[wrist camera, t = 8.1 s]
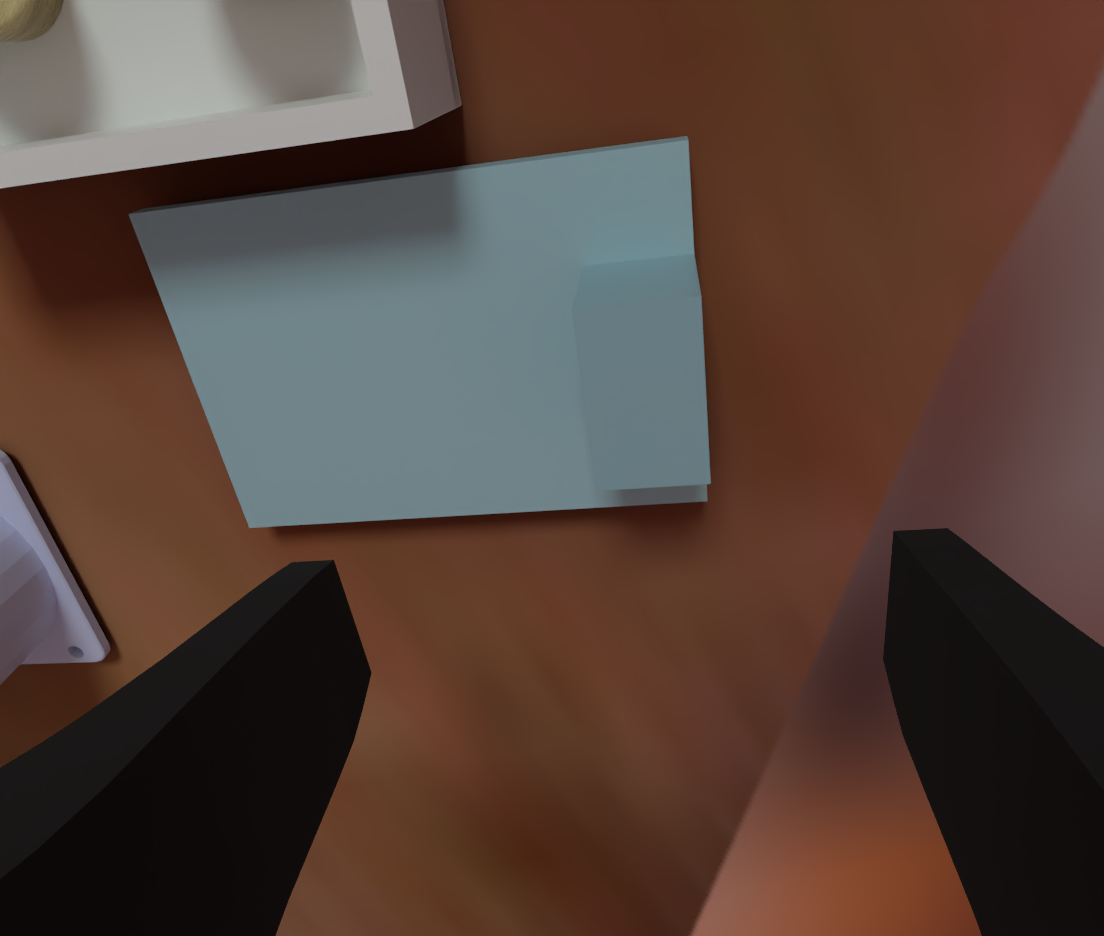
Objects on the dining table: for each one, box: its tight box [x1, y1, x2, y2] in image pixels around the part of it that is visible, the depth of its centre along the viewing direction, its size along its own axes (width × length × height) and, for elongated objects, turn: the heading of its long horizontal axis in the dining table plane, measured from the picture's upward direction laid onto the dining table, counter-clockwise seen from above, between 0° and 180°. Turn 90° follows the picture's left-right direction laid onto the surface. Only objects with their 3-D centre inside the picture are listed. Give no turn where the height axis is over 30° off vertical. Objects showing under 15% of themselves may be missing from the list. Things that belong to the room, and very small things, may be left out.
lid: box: [128, 136, 711, 528], centre depth 18 cm, size 13×9×4 cm
